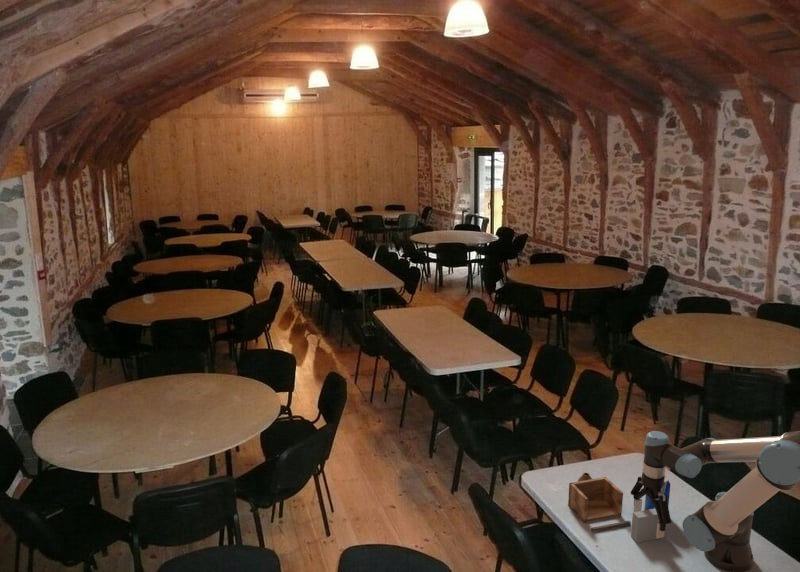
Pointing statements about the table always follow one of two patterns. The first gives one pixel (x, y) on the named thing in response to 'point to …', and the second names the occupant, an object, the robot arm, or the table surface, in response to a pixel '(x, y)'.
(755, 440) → the robot arm
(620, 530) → the table surface
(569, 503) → the box
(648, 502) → the beer can
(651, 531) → the grey flat-topped box
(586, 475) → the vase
